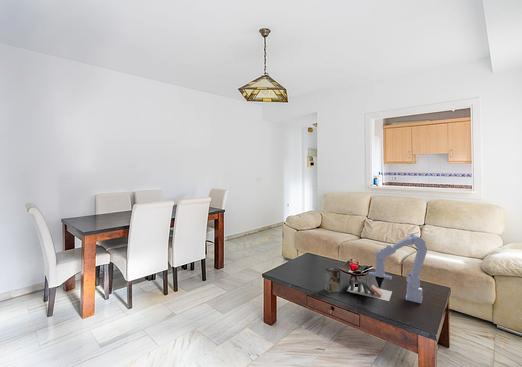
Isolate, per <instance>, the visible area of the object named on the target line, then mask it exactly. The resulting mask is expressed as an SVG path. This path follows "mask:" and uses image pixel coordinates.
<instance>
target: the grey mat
mask: <svg viewBox="0 0 522 367" xmlns="http://www.w3.org/2000/svg"><path fill="white" fill-rule="evenodd" d="M378 289H379V290H380V291H381V292H382V296H381V297H379V296H378V295H377V294H376V293H375V294H374V295H372V294H371V293H370V292H369V291H368V293H367V294H365V292H364V289H363V286H362V290H361V292H358V287H355V288H354V290H353V291H351V285H350V286H348V288H347V289H346V292H349V293H353V294H358V295H360V296H361V295H362V296H366V297H371V298H375V299H378V300H381V301H382V300H383V301H386V302H390V300H391V297H392V293H393V291H392V290H387V289H383V288H378Z"/></svg>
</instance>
